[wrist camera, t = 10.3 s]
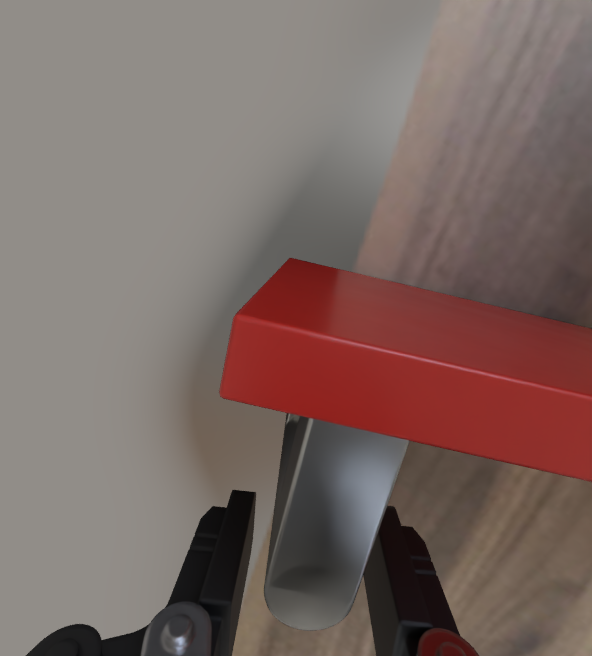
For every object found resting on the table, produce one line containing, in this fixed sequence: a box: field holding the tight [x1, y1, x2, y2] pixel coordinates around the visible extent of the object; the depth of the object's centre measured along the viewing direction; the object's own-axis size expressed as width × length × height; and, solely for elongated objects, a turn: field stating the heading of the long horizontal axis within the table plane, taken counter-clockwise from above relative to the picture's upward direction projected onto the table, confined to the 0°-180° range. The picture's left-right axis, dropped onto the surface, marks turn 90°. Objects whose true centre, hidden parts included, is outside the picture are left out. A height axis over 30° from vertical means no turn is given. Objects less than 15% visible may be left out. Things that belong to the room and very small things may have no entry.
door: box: [219, 258, 592, 631], centre depth 10 cm, size 6×16×11 cm, turn 77°
